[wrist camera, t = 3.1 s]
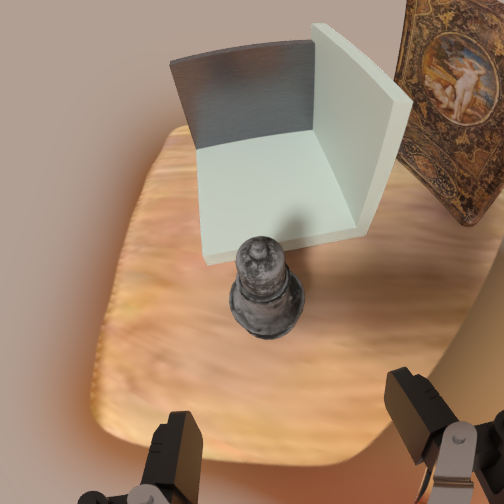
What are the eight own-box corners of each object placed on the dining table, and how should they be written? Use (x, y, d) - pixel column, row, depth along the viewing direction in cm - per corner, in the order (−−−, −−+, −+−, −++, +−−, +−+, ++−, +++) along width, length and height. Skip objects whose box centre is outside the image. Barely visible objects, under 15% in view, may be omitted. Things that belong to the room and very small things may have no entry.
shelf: (320, 134, 36) (325, 23, 22) (365, 235, 28) (413, 101, 14) (199, 154, 36) (165, 45, 22) (207, 265, 28) (143, 137, 14)
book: (485, 213, 28) (574, 54, 6) (467, 232, 27) (571, 52, 5) (402, 132, 35) (435, -27, 13) (378, 143, 34) (408, -36, 12)
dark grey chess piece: (222, 316, 26) (178, 254, 15) (263, 268, 27) (249, 182, 17) (274, 356, 23) (267, 321, 13) (315, 303, 25) (336, 231, 15)
